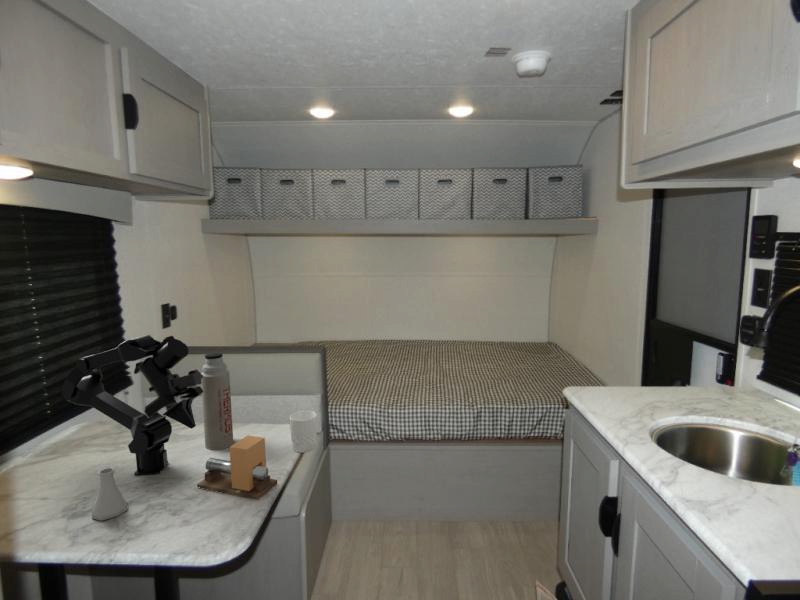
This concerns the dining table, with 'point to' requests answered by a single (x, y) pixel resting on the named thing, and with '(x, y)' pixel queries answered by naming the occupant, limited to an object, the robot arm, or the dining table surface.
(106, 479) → the flask
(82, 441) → the dining table surface
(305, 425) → the white cup
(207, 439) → the thermos bottle
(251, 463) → the tan block
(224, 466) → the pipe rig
